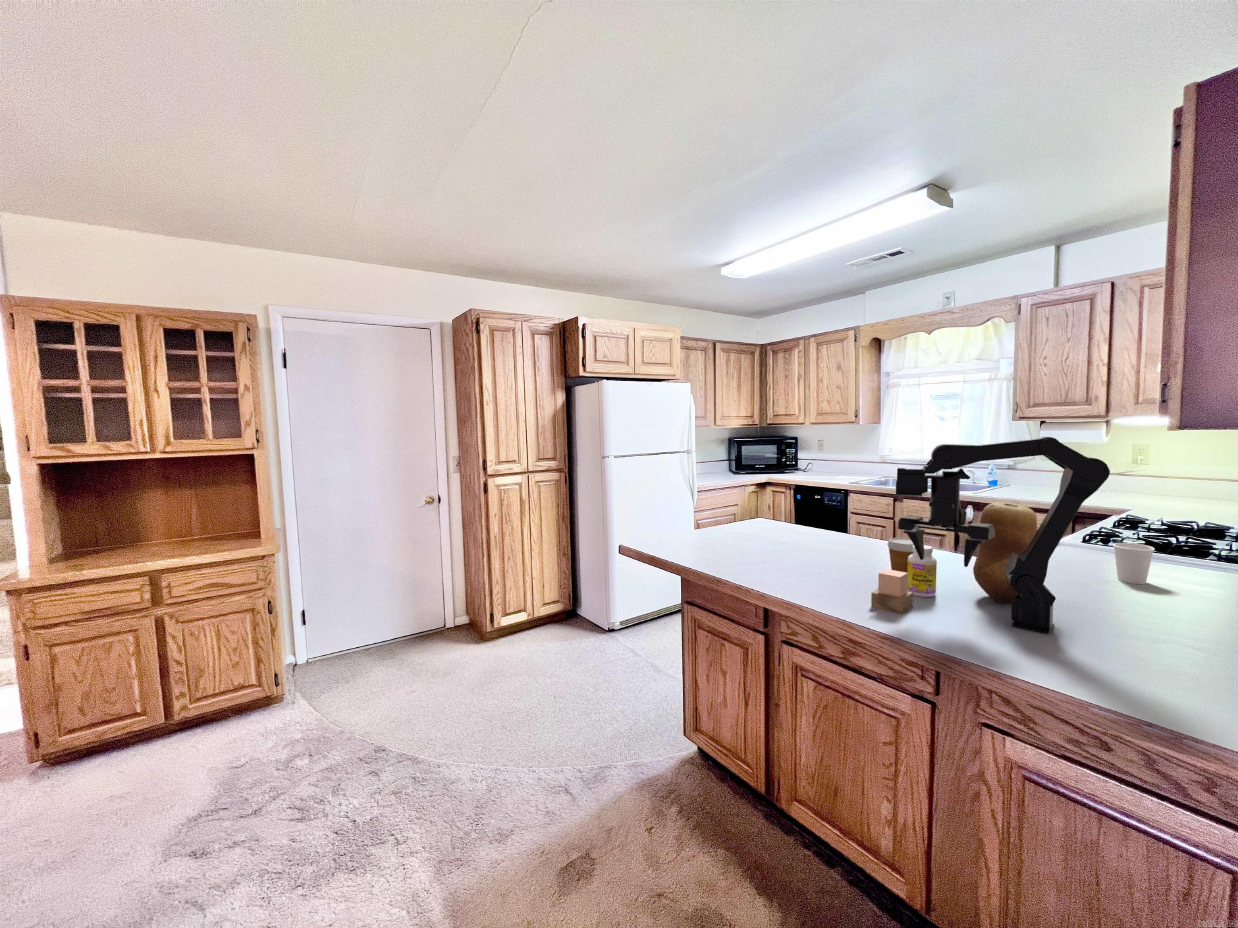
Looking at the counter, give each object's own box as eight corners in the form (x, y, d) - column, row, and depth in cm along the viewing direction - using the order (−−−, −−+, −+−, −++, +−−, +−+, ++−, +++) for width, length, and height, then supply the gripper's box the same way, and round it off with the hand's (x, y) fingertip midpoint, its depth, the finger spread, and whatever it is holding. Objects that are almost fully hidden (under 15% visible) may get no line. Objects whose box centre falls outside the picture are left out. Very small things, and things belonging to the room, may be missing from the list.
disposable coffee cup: (879, 580, 151) (879, 539, 150) (901, 575, 155) (901, 536, 154) (909, 588, 142) (910, 546, 141) (931, 583, 146) (932, 542, 145)
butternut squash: (1047, 611, 123) (1051, 508, 121) (981, 606, 127) (984, 506, 126) (1023, 594, 136) (1026, 500, 134) (964, 589, 140) (966, 499, 139)
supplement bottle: (907, 595, 136) (908, 548, 136) (906, 588, 142) (907, 542, 141) (936, 599, 133) (937, 550, 133) (935, 591, 139) (935, 545, 138)
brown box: (912, 608, 128) (912, 592, 128) (901, 615, 123) (901, 599, 123) (883, 601, 133) (883, 586, 133) (871, 608, 129) (871, 592, 129)
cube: (899, 597, 125) (900, 577, 124) (878, 592, 128) (878, 572, 128) (907, 592, 128) (907, 572, 128) (886, 588, 132) (886, 569, 131)
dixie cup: (1103, 576, 149) (1104, 542, 149) (1132, 576, 149) (1134, 542, 148) (1130, 585, 141) (1132, 549, 140) (1162, 585, 141) (1164, 549, 140)
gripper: (1002, 497, 119) (1000, 563, 120) (914, 491, 133) (913, 550, 134) (988, 502, 112) (986, 573, 113) (897, 495, 126) (896, 558, 127)
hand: (943, 562), depth 122 cm, fingers open, 9 cm apart
